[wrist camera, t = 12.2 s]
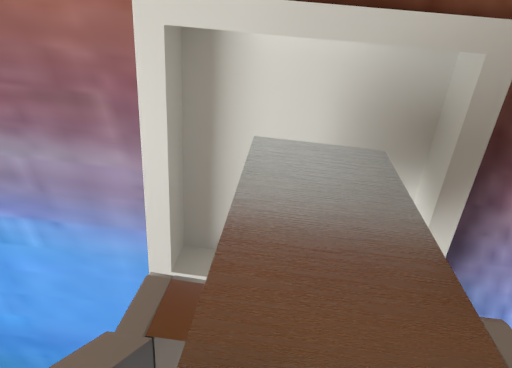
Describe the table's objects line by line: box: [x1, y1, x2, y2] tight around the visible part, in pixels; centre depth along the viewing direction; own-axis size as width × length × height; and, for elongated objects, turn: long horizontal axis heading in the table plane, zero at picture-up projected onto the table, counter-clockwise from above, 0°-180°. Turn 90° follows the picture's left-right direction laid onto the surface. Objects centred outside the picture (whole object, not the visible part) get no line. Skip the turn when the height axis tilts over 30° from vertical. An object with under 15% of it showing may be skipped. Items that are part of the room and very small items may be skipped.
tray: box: [132, 0, 512, 280], centre depth 15 cm, size 12×12×3 cm
